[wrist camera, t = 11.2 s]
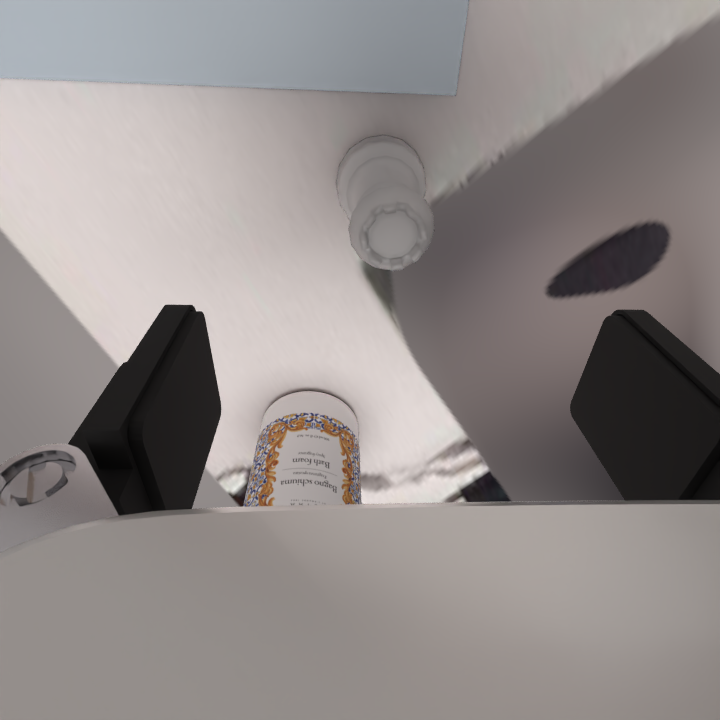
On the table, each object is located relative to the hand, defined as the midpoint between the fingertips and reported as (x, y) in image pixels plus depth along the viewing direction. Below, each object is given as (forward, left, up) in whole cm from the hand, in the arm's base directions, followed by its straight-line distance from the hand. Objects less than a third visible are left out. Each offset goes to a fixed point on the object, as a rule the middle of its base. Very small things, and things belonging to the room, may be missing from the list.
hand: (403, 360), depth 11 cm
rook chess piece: (0, 0, -15) cm, 15 cm away
